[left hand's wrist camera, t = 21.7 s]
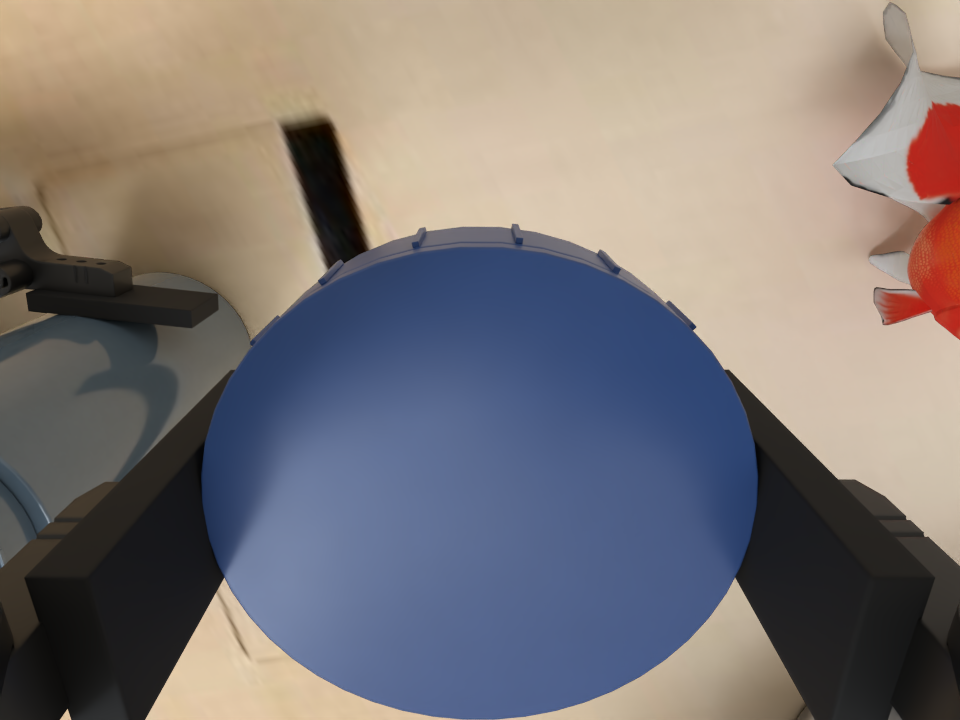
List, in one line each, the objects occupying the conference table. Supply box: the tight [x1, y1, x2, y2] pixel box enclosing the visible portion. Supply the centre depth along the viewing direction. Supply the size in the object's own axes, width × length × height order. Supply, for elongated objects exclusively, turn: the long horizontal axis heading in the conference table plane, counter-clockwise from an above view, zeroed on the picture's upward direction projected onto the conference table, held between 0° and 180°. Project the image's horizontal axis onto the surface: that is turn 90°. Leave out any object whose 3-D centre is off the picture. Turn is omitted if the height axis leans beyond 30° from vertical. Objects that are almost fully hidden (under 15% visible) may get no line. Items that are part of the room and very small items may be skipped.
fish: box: [833, 2, 960, 340], centre depth 27 cm, size 11×16×10 cm
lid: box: [201, 224, 758, 719], centre depth 11 cm, size 9×10×2 cm
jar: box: [0, 272, 251, 569], centre depth 25 cm, size 9×9×18 cm
